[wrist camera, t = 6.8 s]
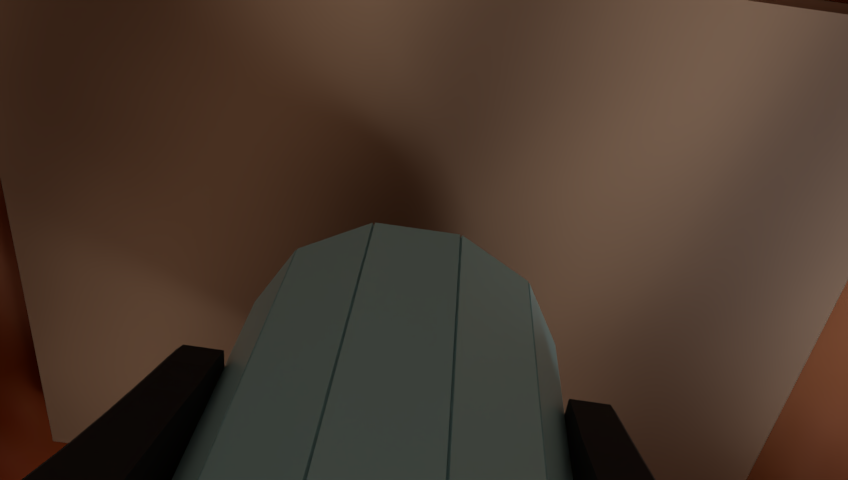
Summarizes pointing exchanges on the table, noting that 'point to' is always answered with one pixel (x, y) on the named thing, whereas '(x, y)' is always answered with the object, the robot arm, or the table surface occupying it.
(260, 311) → the grey-green cylinder
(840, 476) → the table surface
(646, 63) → the roll stand
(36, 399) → the table surface
